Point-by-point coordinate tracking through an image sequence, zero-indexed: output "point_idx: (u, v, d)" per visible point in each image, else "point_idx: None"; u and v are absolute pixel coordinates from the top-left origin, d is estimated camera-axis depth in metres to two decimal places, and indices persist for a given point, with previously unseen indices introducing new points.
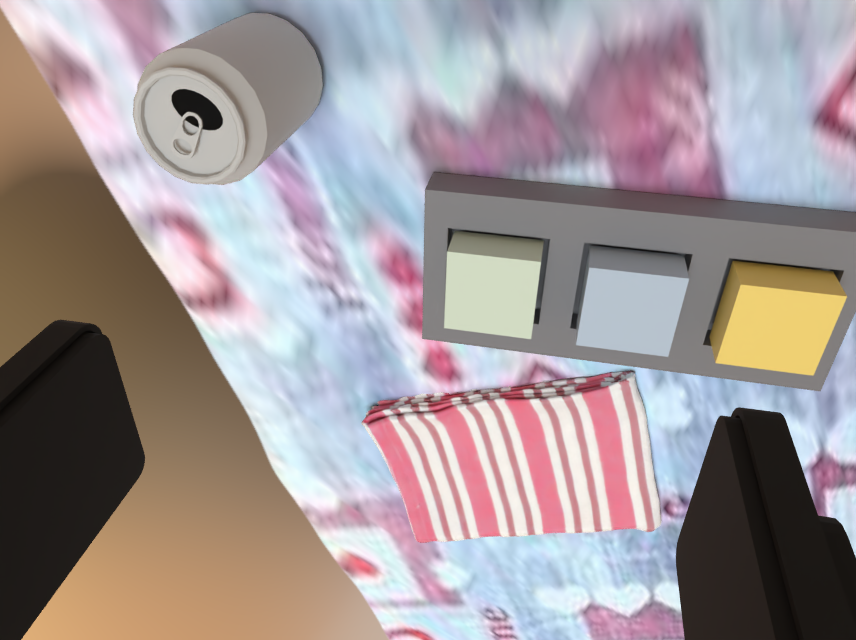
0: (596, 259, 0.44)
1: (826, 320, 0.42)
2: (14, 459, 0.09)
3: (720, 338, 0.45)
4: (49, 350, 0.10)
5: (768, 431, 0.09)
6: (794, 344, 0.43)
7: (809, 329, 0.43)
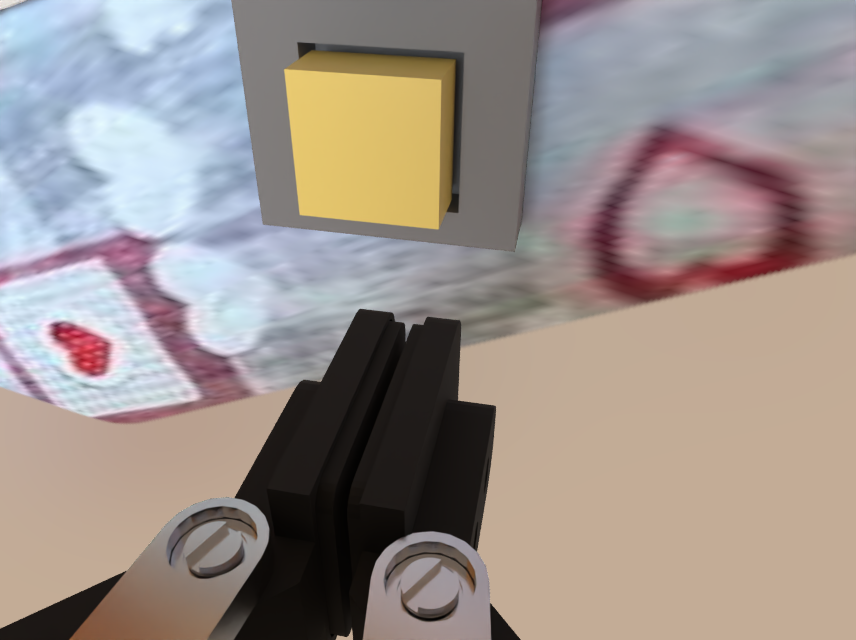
0: None
1: (396, 212, 0.28)
2: (367, 441, 0.09)
3: (329, 67, 0.26)
4: (371, 337, 0.10)
5: (437, 332, 0.10)
6: (346, 179, 0.28)
7: (376, 193, 0.28)
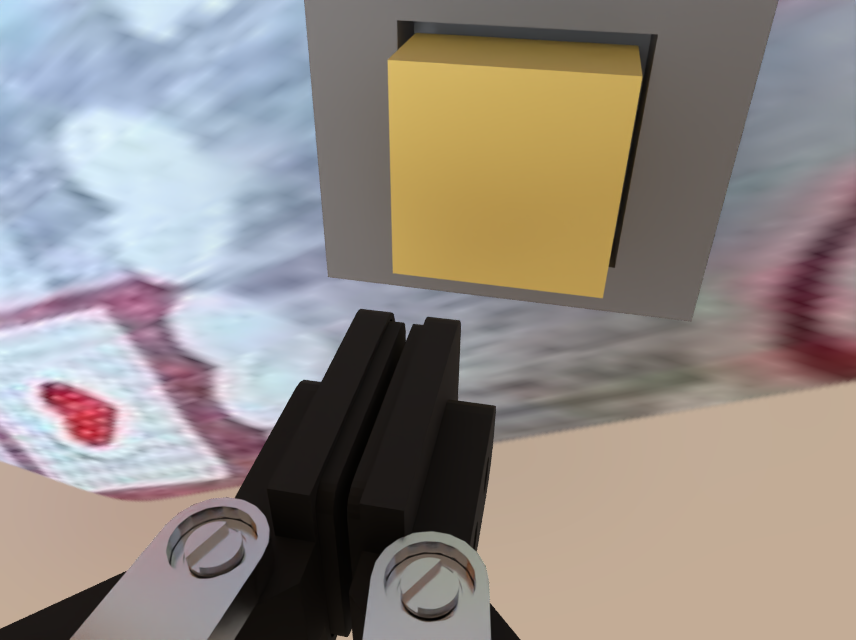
0: None
1: (540, 273, 0.19)
2: (367, 441, 0.09)
3: (455, 57, 0.17)
4: (372, 337, 0.10)
5: (438, 332, 0.10)
6: (468, 224, 0.19)
7: (512, 245, 0.19)
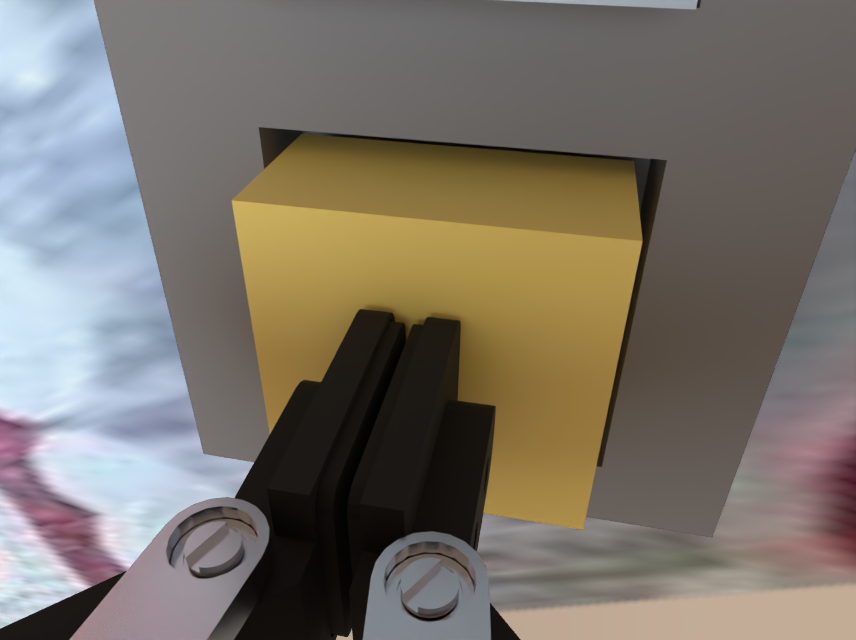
0: None
1: (489, 493, 0.13)
2: (367, 441, 0.09)
3: (343, 194, 0.11)
4: (371, 337, 0.10)
5: (438, 332, 0.10)
6: None
7: None
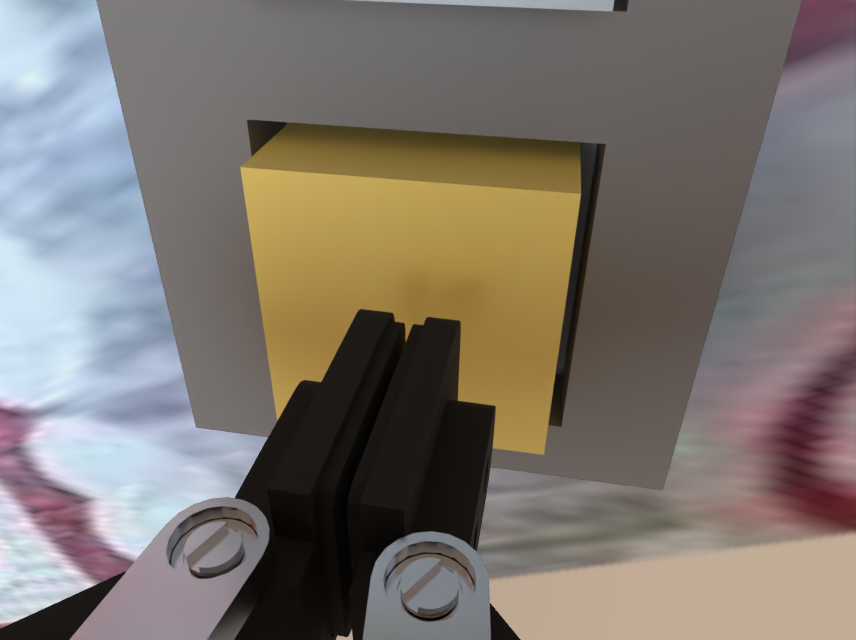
0: None
1: None
2: (367, 441, 0.09)
3: (334, 162, 0.13)
4: (372, 337, 0.10)
5: (438, 332, 0.10)
6: None
7: None
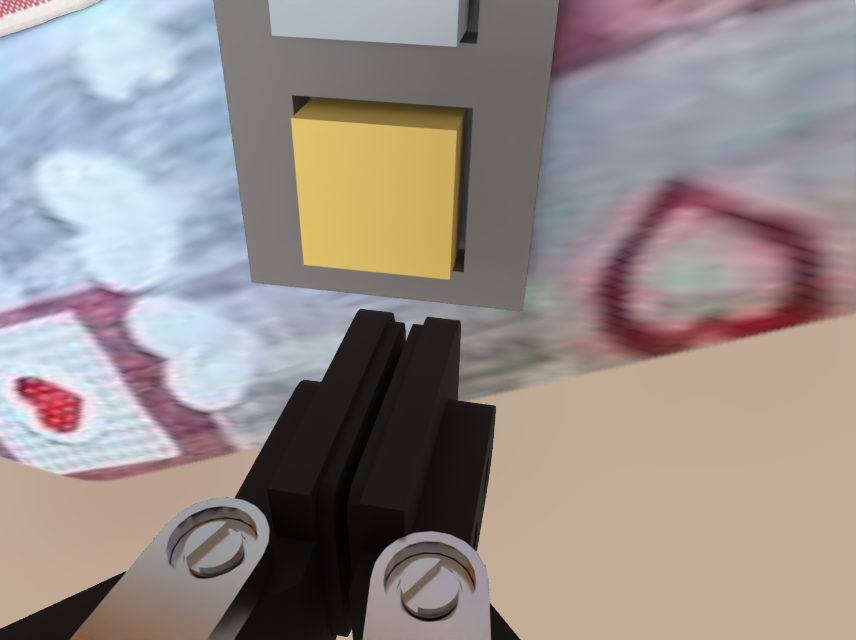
0: None
1: (405, 262, 0.27)
2: (367, 441, 0.09)
3: (337, 116, 0.25)
4: (371, 337, 0.10)
5: (438, 332, 0.10)
6: (353, 229, 0.27)
7: (385, 243, 0.27)
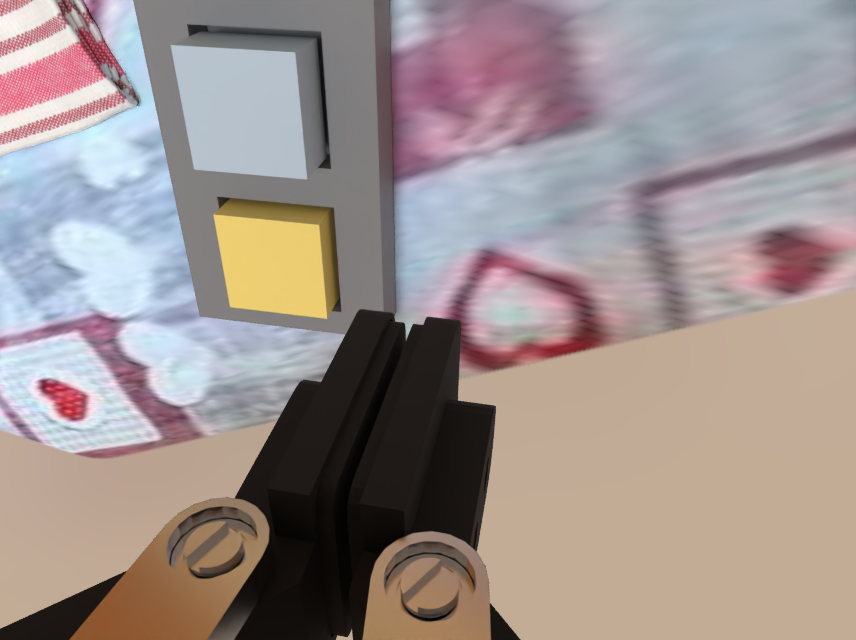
0: (304, 56, 0.32)
1: (297, 307, 0.40)
2: (367, 442, 0.09)
3: (244, 212, 0.38)
4: (371, 337, 0.10)
5: (438, 332, 0.10)
6: (260, 285, 0.40)
7: (282, 294, 0.40)
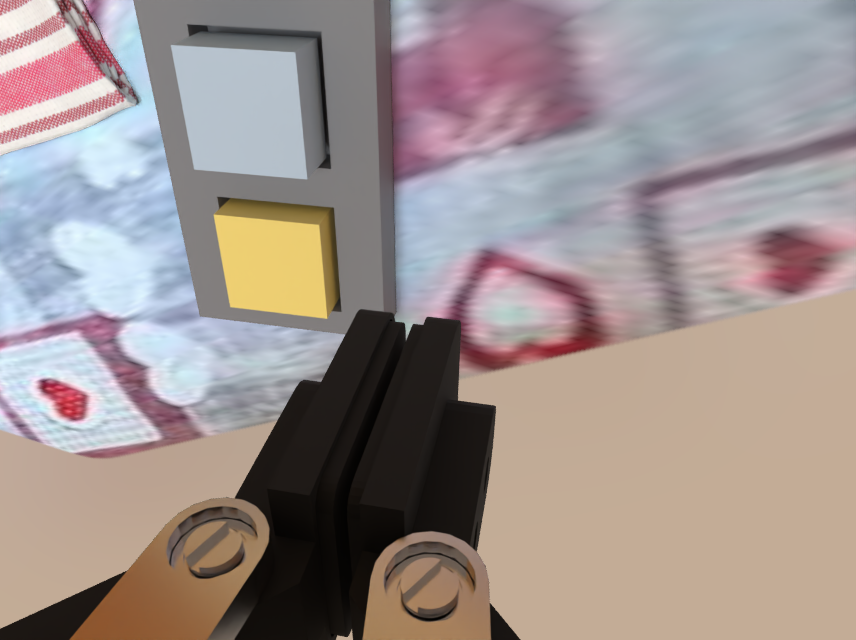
0: (304, 56, 0.32)
1: (297, 307, 0.40)
2: (367, 441, 0.09)
3: (245, 212, 0.38)
4: (371, 337, 0.10)
5: (437, 332, 0.10)
6: (260, 285, 0.40)
7: (282, 294, 0.40)
